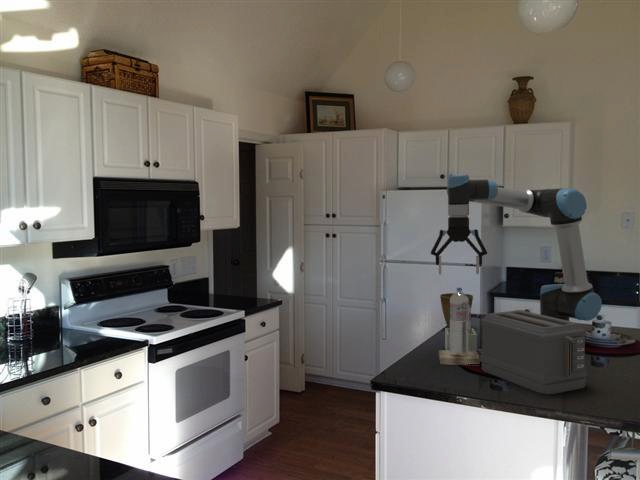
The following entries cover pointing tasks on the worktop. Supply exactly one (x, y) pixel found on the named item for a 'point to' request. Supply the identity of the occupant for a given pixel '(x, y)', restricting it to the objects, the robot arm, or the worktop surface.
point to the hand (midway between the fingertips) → (458, 273)
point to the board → (458, 358)
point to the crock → (471, 339)
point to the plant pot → (446, 305)
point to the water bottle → (459, 324)
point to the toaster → (534, 351)
